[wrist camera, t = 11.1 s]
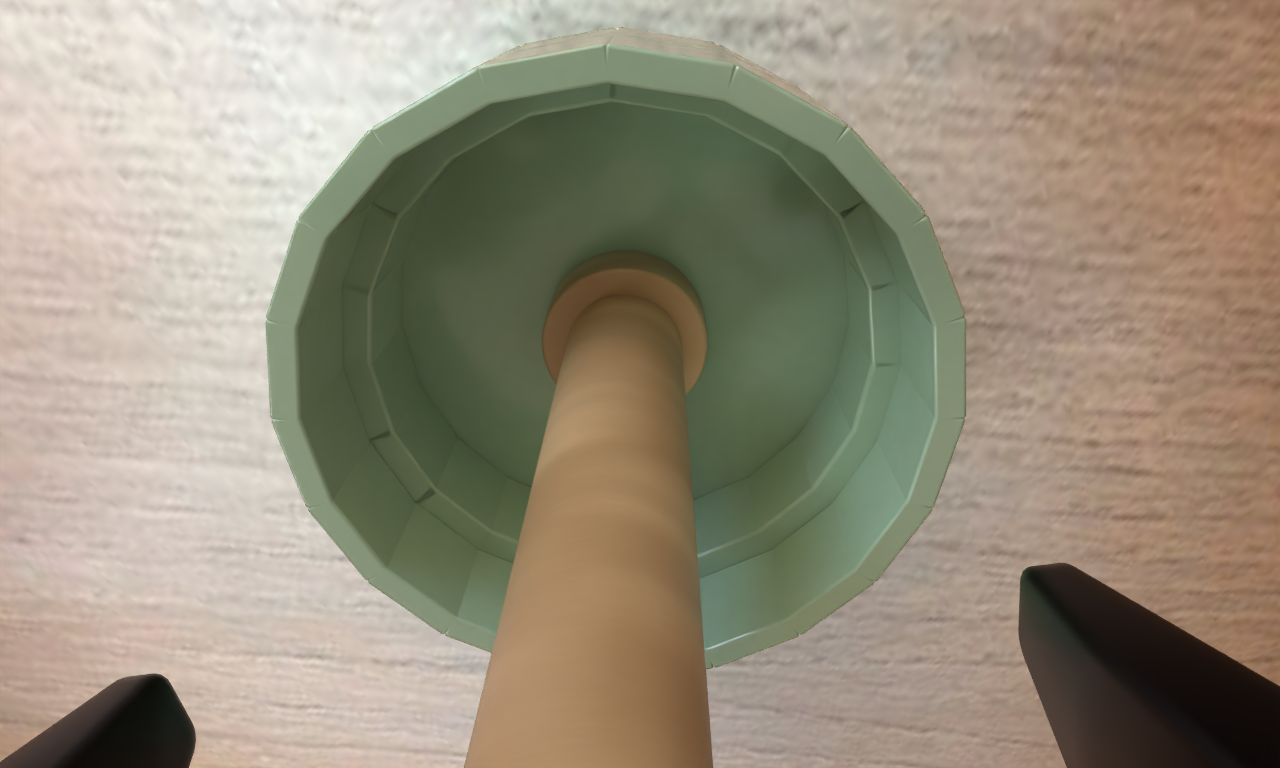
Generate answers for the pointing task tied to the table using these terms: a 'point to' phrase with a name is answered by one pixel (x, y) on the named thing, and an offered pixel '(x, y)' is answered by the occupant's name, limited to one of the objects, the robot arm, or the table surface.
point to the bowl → (521, 296)
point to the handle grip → (607, 540)
